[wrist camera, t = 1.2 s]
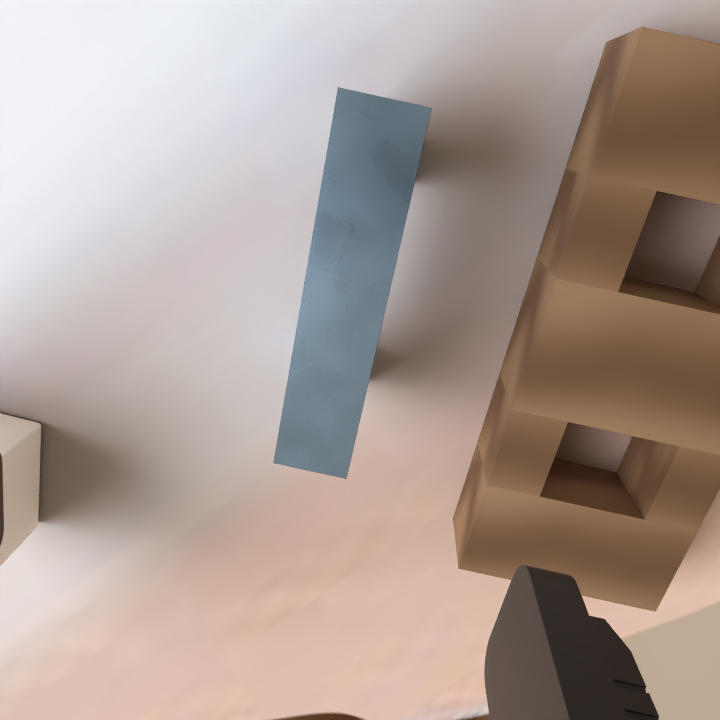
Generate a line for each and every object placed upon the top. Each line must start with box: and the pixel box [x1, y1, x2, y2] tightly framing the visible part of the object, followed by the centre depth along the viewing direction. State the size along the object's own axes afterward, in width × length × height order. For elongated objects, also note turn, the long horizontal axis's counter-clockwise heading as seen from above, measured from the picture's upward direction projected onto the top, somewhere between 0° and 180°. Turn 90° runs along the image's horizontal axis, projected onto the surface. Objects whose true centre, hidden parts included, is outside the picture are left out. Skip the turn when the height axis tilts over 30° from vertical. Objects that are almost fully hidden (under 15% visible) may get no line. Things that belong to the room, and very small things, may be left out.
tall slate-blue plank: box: [274, 87, 432, 479], centre depth 25 cm, size 14×3×8 cm, turn 168°
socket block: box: [453, 27, 720, 612], centre depth 27 cm, size 24×10×4 cm, turn 168°
